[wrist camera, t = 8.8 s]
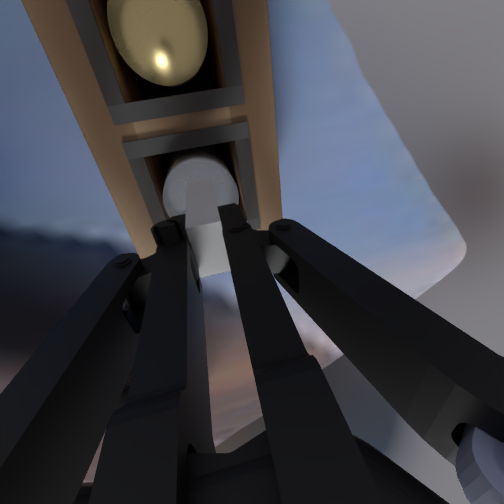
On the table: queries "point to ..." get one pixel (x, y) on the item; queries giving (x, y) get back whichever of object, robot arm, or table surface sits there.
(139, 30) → the brass peg
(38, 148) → the table surface
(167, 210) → the steel peg
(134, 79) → the socket block
